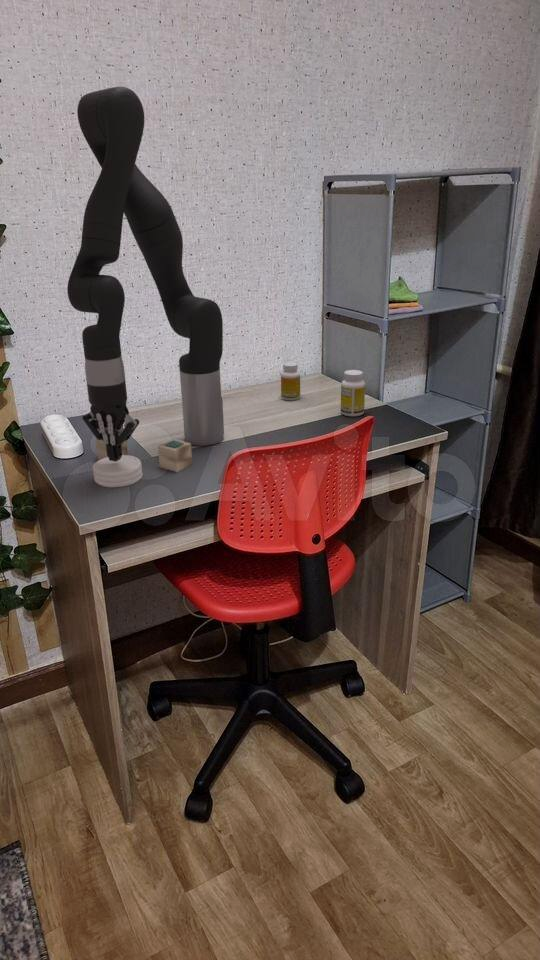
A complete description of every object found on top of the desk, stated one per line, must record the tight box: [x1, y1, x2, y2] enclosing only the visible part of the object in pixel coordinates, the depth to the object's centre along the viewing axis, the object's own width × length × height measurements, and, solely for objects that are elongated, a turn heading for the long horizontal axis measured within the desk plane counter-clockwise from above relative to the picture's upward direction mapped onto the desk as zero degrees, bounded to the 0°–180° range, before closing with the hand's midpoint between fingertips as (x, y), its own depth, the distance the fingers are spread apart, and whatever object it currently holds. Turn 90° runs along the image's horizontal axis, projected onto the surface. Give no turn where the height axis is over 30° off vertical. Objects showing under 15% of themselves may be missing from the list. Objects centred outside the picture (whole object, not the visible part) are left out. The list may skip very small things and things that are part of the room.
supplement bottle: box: [280, 361, 301, 401], centre depth 187 cm, size 5×5×10 cm
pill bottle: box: [340, 369, 366, 417], centre depth 174 cm, size 6×6×11 cm
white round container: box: [92, 454, 143, 488], centre depth 141 cm, size 10×10×4 cm
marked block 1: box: [95, 438, 129, 461], centre depth 151 cm, size 5×5×5 cm
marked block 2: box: [157, 438, 193, 473], centre depth 146 cm, size 5×5×5 cm
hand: (115, 459), depth 140 cm, fingers closed
